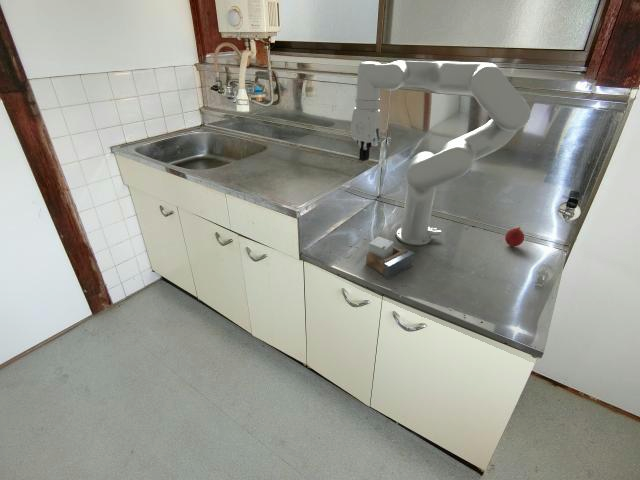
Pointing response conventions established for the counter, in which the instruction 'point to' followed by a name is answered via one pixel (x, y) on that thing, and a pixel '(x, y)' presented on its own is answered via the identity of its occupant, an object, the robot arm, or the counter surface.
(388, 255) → the skincare box
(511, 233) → the onion
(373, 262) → the caddy
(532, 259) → the counter surface
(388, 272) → the backstop rail
